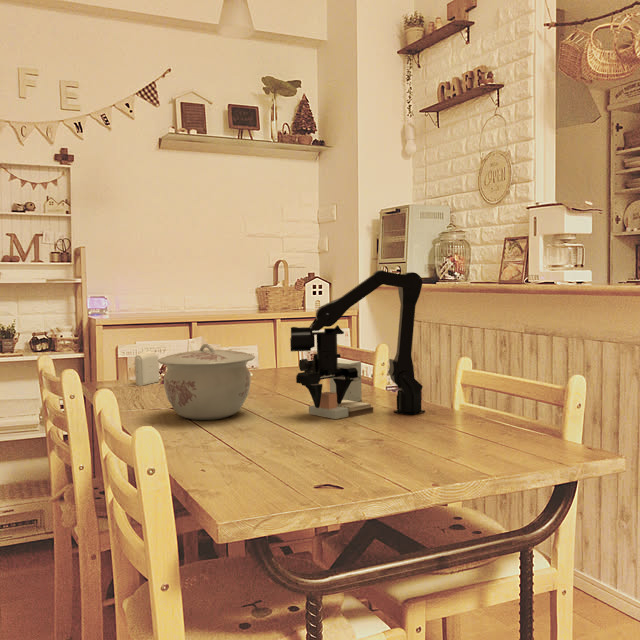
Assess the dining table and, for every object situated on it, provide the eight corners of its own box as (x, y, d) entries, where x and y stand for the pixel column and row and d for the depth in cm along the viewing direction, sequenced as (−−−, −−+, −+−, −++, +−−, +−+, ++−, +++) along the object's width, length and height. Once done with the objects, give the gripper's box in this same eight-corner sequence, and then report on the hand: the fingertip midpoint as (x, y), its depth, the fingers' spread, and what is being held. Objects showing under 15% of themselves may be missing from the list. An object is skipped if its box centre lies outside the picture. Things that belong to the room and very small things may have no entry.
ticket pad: (373, 412, 195) (373, 403, 195) (350, 417, 190) (350, 408, 189) (344, 407, 204) (344, 398, 204) (321, 411, 198) (321, 402, 198)
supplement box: (349, 404, 208) (348, 363, 207) (329, 402, 213) (328, 362, 212) (362, 401, 214) (361, 360, 213) (343, 399, 218) (342, 359, 218)
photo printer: (142, 386, 255) (141, 353, 254) (133, 385, 257) (132, 352, 256) (161, 382, 264) (160, 350, 263) (152, 381, 266) (151, 349, 265)
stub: (348, 416, 190) (348, 394, 189) (335, 419, 186) (334, 396, 186) (322, 411, 198) (321, 389, 198) (308, 413, 195) (308, 392, 194)
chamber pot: (239, 427, 180) (237, 348, 179) (142, 424, 186) (139, 348, 184) (268, 406, 208) (266, 338, 206) (183, 405, 213) (181, 339, 212)
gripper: (332, 346, 203) (333, 398, 204) (282, 351, 191) (284, 406, 192) (358, 348, 195) (359, 402, 196) (308, 354, 183) (310, 412, 183)
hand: (328, 405), depth 192 cm, fingers open, 8 cm apart
